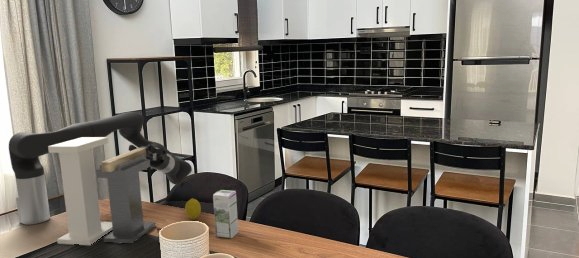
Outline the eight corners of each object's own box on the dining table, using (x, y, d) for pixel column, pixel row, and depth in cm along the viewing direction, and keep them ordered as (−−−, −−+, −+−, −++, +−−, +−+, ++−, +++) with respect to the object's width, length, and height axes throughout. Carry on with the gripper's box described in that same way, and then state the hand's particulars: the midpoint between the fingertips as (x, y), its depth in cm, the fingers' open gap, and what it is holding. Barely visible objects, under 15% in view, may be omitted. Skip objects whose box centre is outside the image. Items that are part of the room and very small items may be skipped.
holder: (103, 242, 139) (95, 165, 135) (129, 225, 154) (122, 154, 150) (132, 244, 137) (124, 165, 133) (155, 226, 152) (149, 155, 148)
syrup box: (239, 232, 143) (236, 190, 141) (231, 239, 138) (228, 195, 136) (223, 230, 145) (221, 188, 143) (215, 237, 140) (212, 194, 138)
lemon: (203, 216, 159) (201, 195, 158) (198, 222, 154) (197, 200, 152) (188, 216, 160) (187, 196, 158) (183, 222, 154) (182, 200, 153)
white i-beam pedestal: (57, 243, 140) (45, 146, 135) (89, 225, 155) (79, 137, 150) (90, 245, 137) (79, 146, 132) (119, 226, 153) (110, 137, 148)
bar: (102, 171, 133) (101, 162, 132) (143, 154, 156) (142, 146, 156) (110, 171, 132) (109, 162, 132) (150, 154, 155) (149, 146, 155)
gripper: (145, 151, 169) (122, 137, 153) (180, 151, 166) (159, 137, 150) (142, 170, 166) (118, 157, 151) (177, 170, 163) (156, 157, 148)
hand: (139, 147), depth 151 cm, fingers open, 6 cm apart
